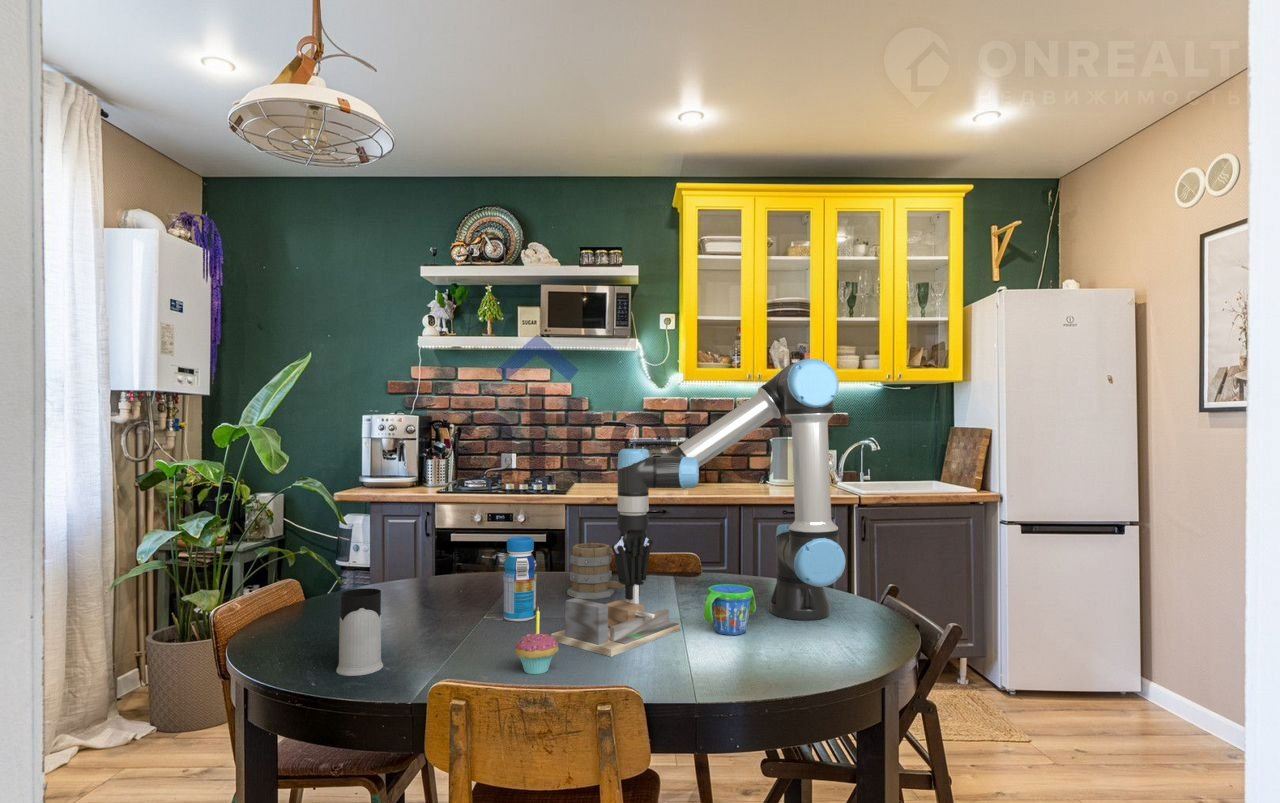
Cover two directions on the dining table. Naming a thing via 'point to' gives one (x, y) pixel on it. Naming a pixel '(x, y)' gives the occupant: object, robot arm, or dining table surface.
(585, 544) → the tankard
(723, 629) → the snack cup
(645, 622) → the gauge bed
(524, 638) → the cupcake
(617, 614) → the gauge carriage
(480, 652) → the dining table surface
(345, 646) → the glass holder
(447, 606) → the dining table surface
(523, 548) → the beverage bottle
